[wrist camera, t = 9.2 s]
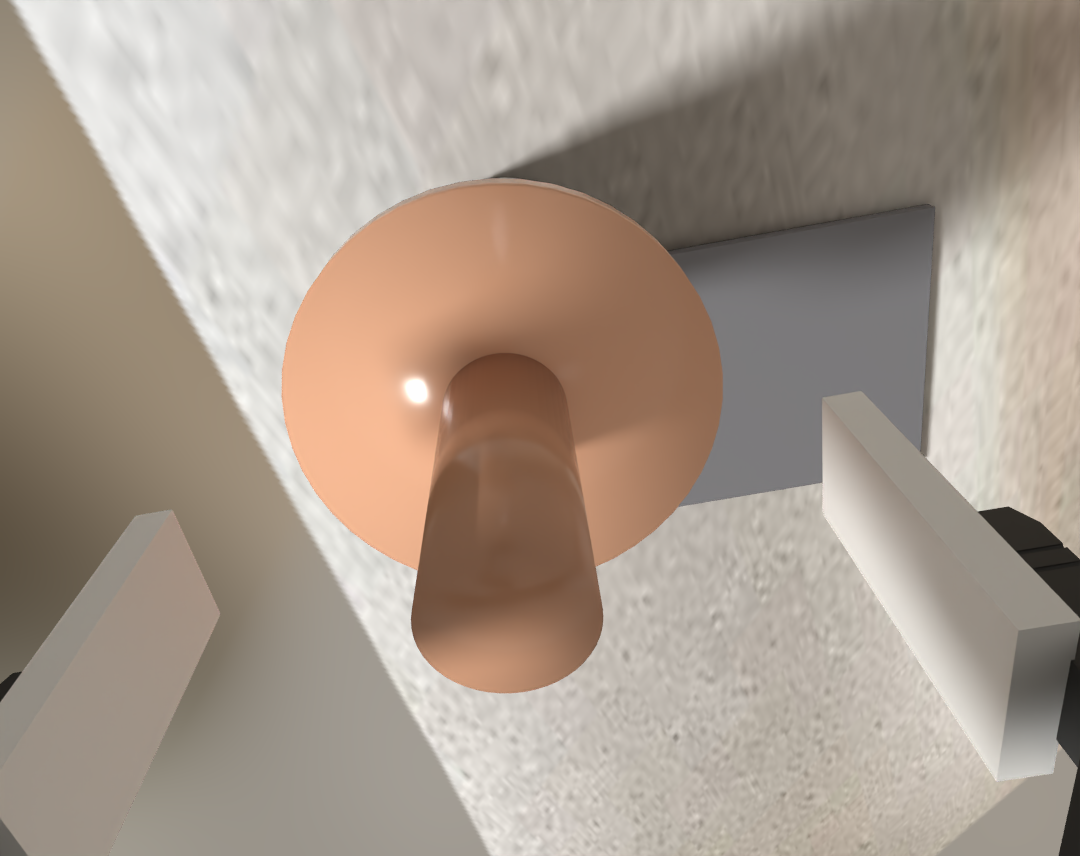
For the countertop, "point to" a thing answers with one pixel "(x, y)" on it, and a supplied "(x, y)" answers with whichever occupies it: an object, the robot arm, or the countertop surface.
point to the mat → (811, 339)
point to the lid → (502, 411)
